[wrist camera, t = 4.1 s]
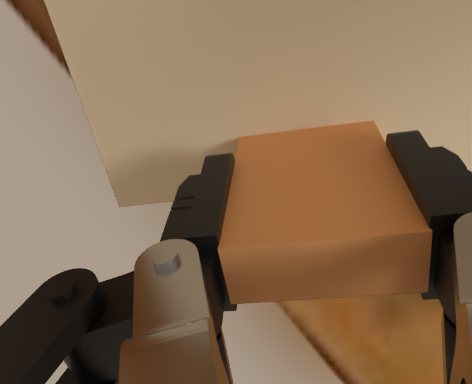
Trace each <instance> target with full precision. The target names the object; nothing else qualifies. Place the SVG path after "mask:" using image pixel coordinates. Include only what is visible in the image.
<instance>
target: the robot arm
mask: <svg viewBox="0 0 472 384" xmlns="http://www.w3.org/2000/svg"><path fill="white" fill-rule="evenodd" d="M386 146H387V148H388V150H389V152H390V154H391V156H392V158H393V159H394V161H395V163H396V165H397V167H398V169H399V171H400V173H401V175H402V177H403V179H404V181H405V183H406V184H407V186H408V188H409V190H410V192H411V194H412V196H413V198H414V200H415V202H416V204H417V206H418V207H419V209H420V211H421V213H422V215H423V217H424V219H425V221H426V223H427V225H428V227H429V229H430V228H431V230H432V244H431V257H430V270H429V283H428V292H423V293H421V296H422V298H423V300H425V299H439V300H440V302H441V304H442V307H443V313H442V321H441V327H442V352H443V376H444V384H472V173H471V172H470V171H469V170H467V167H466V165H465V164H464V162H463V161H462V160H461V158H460V157H459V156H458V155H457V154H455V153H453V152H451V151H450V150H448V149H446V148H444V147H443V146H439V147H431V148H430V147H429V146H428V144H427V142H426V141H425V139H424V138H423V136H422V135H421V133H420V132H419V131H418V130H413V131H405V132H397V133H389V134H387V136H386ZM234 165H235V159H234V155H233V153H225V154H217V155H209V156H206V157H205V159H204V163H203V167H202V170H201V174H197V175H189V176H188V177H187V178H186V179H185V180H184V181H183V183H182V184H181V185H180V186H179V187H178V190H177V193H176V196H175V201H174V202H173V205H172V207H171V211H170V214H169V216H168V220H167V222H166V225H165V228H164V231H163V234H162V237H161V240H160V242H159V243H156V244H154V245H152V246H151V247H149V248H148V249H146V250H145V251H144V252H143V253H142V254H141V255H140V256H139V257H138V259H137V261H136V263H135V267H134V271H132V272H130V273H127V274H125V275H122V276H118V277H116V278H112V279H109V280H106V281H103V282H100V283H99V282H98V280H97V278H96V276H95V274H94V273H93V272H92V271H90V270H87V269H81V268H79V269H71V270H67V271H64V272H62V273H59V274H57V275H55V276H53V277H52V278H50V279H48V280H47V281H46V282H44V283H43V284H42V285H41V286H40V287H39V288H38V289H37V290H36V291H35V292H34V293H33V294H32V295H31V296H30V297H29V298H28V299H27V300H26V301H25V302H24V303H23V304H22V305H21V306H20V307H19V308H18V309H17V310H16V311H15V312H14V313H13V314H12V315H11V316H10V317H9V319H7V320H6V321H5V322H4V323H3V324H2V325H1V326H0V384H45V383H46V382H47V380H48V379H49V378H50V377H51V375H52V374H53V373H54V372H55V370H56V369H57V368H58V366H59V365H60V364H61V363H62V362H63V360H64V362H65V363H66V365H67V366H68V368H67V369H66V371H65V372H64V373H63V375H62V376H61V377H60V378H59V380H58V381H57V382H56V384H233V379H232V374H231V370H230V364H229V360H228V355H227V350H226V346H225V340H224V336H223V332H222V328H221V326H222V319H223V312H224V311H236V308H237V304H231V303H230V299H229V295H228V290H227V286H226V282H225V278H224V274H223V270H222V266H221V261H220V257H219V253H218V246H219V243H220V238H221V233H222V228H223V222H224V217H225V212H226V207H227V202H228V196H229V191H230V186H231V181H232V175H233V170H234Z"/></svg>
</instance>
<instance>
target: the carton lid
mask: <svg viewBox="0 0 472 384" xmlns="http://www.w3.org/2000/svg"><path fill="white" fill-rule="evenodd" d="M44 2H45V5H46V7H47V10H48V13H49V16H50V18H51V21H52V24H53V27H54V29H55V32H56V35H57V38H58V40H59V43H60V46H61V49H62V51H63V54H64V57H65V60H66V62H67V65H68V68H69V71H70V73H71V76H72V79H73V82H74V84H75V87H76V90H77V92H78V95H79V98H80V101H81V103H82V106H83V109H84V112H85V114H86V117H87V120H88V123H89V125H90V128H91V131H92V134H93V136H94V139H95V142H96V145H97V147H98V150H99V153H100V155H101V158H102V161H103V164H104V166H105V169H106V172H107V175H108V177H109V180H110V183H111V186H112V188H113V191H114V194H115V197H116V199H117V202H118V205H119V207H123V206H133V205H143V204H153V203H162V202H172V201H175V196H176V193H177V190H178V187H179V186H180V185H181V184H182V183H183V181H184V180H185V179H186V178H187V177H188V176H189V175H197V174H201V170H202V167H203V163H204V159H205V157H206V156H209V155H217V154H225V153H233V155H234V159H235V165H234V170H233V175H232V181H231V186H230V191H229V196H228V202H227V207H226V212H225V217H224V222H223V228H222V233H221V238H220V243H219V246H218V253H219V257H220V261H221V266H222V270H223V274H224V278H225V282H226V286H227V290H228V295H229V299H230V303H231V304H243V303H259V302H276V301H292V300H308V299H325V298H341V297H357V296H374V295H390V294H407V293H423V292H428V283H429V270H430V257H431V244H432V230H431V228H430V229H429V227H428V225H427V223H426V221H425V219H424V217H423V215H422V213H421V211H420V209H419V207H418V206H417V204H416V202H415V200H414V198H413V196H412V194H411V192H410V190H409V188H408V186H407V184H406V183H405V181H404V179H403V177H402V175H401V173H400V171H399V169H398V167H397V165H396V163H395V161H394V159H393V158H392V156H391V154H390V152H389V150H388V148H387V146H386V136H387V134H389V133H397V132H405V131H413V130H418V131H419V132H420V133H421V135H422V136H423V138H424V139H425V141H426V142H427V144H428V146H429V147H430V148H431V147H439V146H443V147H444V148H446V149H448V150H450V151H451V152H453V153H455V154H457V155H458V156H459V157H460V158H461V160H462V161H463V162H464V164H465V165H466V167H467V170H469V171H472V0H44Z"/></svg>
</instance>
